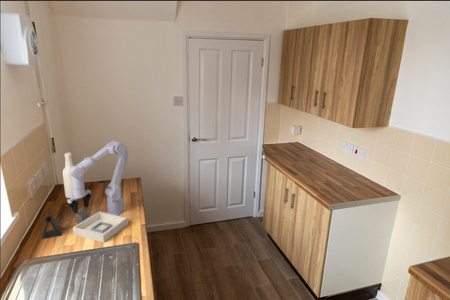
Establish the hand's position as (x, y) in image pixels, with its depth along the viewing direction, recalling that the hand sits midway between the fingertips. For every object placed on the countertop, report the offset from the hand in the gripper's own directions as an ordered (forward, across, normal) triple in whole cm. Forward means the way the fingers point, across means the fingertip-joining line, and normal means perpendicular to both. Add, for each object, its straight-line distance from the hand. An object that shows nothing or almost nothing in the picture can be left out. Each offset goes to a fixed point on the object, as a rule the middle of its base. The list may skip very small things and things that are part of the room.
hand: (81, 209), depth 171 cm
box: (+8, +2, +15) cm, 17 cm away
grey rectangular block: (+8, 0, 0) cm, 8 cm away
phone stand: (+8, +16, -5) cm, 18 cm away
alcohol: (+8, -24, -31) cm, 40 cm away
